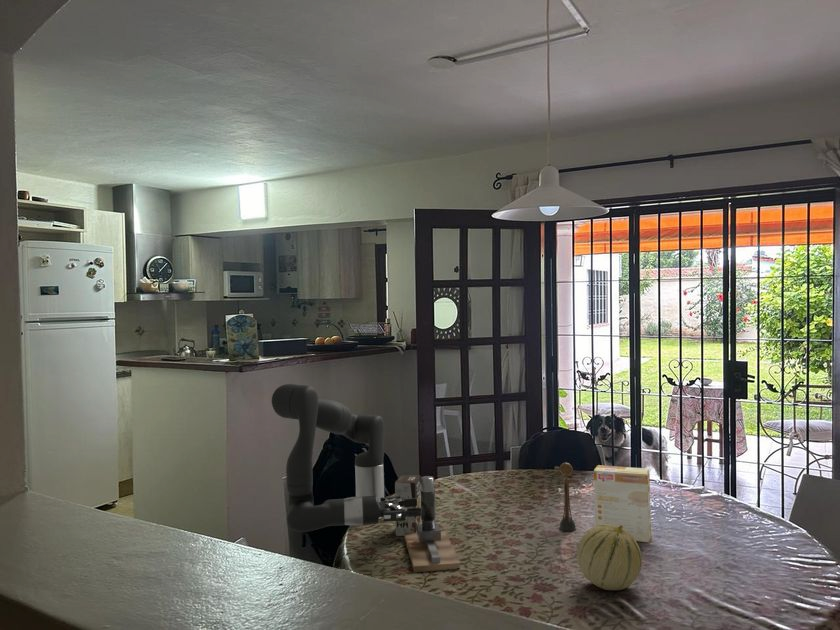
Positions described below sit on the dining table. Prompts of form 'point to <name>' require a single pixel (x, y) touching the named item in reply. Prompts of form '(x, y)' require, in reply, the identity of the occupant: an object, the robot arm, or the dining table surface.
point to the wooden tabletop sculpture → (566, 499)
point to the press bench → (425, 558)
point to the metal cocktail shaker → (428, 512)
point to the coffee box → (408, 489)
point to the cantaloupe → (609, 557)
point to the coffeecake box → (623, 499)
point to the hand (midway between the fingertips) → (418, 506)
